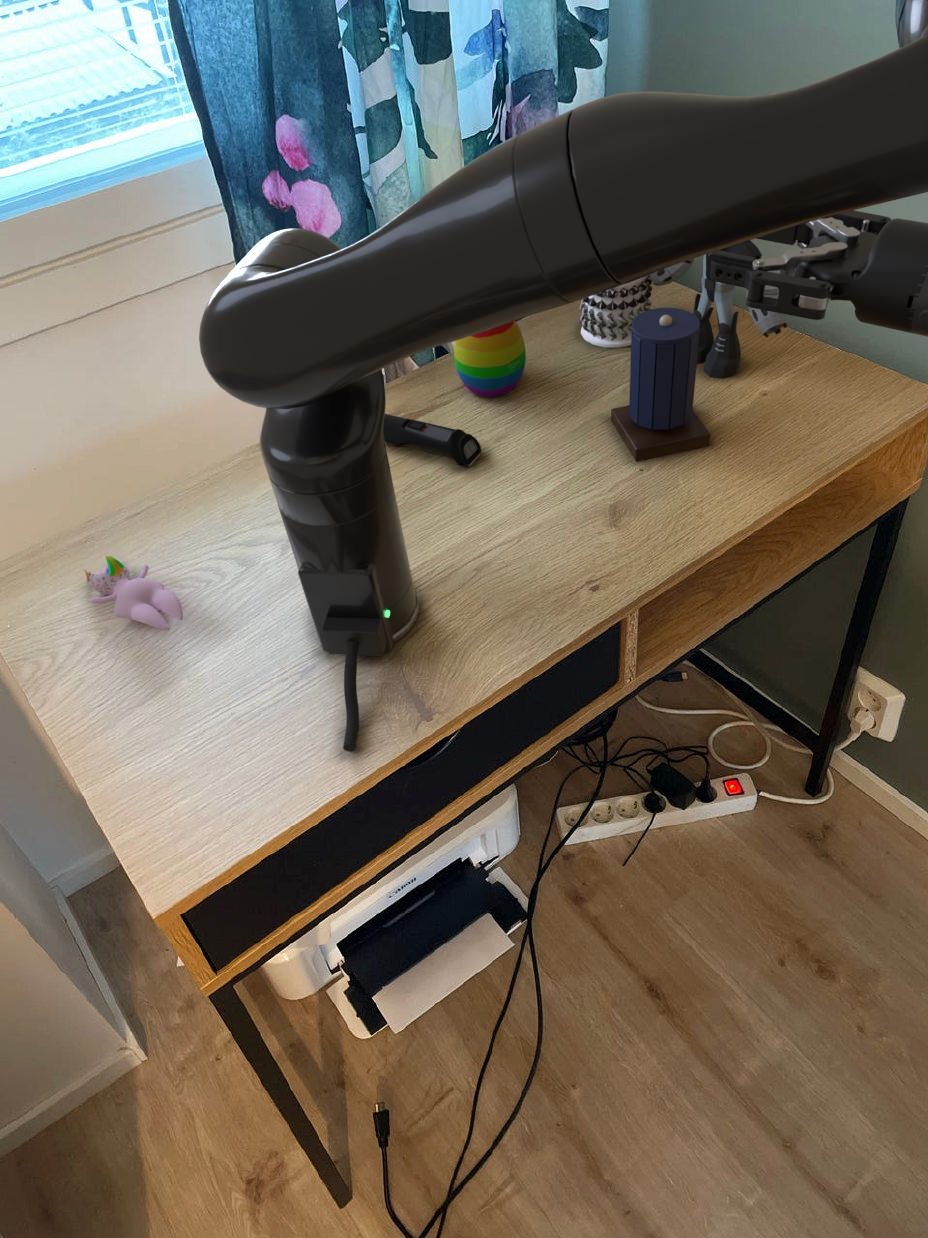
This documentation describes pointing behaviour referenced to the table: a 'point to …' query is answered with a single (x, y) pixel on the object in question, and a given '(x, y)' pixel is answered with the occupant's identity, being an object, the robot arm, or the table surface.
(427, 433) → the electric trimmer
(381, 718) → the table surface
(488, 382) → the decorative egg
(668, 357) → the slatted storage jar
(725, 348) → the robot
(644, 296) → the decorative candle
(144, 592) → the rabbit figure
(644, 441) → the hat peg
